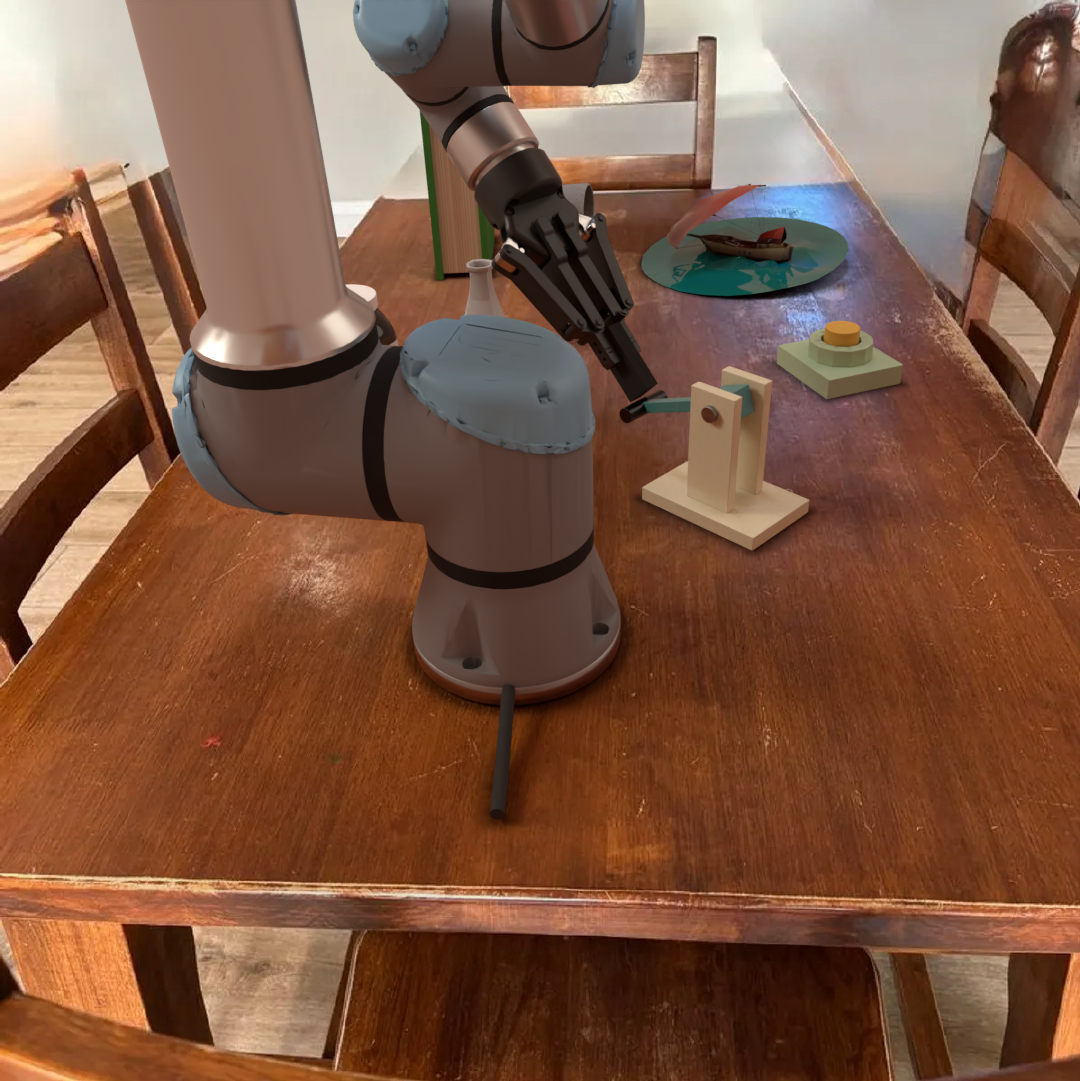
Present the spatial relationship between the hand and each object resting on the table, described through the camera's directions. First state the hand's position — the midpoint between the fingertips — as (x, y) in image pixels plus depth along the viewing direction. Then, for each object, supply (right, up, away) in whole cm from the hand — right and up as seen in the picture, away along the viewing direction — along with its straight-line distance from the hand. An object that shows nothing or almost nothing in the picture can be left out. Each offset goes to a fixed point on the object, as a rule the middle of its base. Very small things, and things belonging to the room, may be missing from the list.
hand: (643, 392), depth 90 cm
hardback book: (-20, +28, +57) cm, 67 cm away
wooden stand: (+7, -10, -2) cm, 12 cm away
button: (+23, +8, +18) cm, 30 cm away
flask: (-16, +10, +30) cm, 36 cm away
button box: (+23, +5, +20) cm, 31 cm away
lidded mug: (-31, +2, +19) cm, 36 cm away
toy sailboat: (+19, +25, +50) cm, 59 cm away
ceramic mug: (-6, +32, +63) cm, 71 cm away
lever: (+4, -3, -3) cm, 6 cm away
